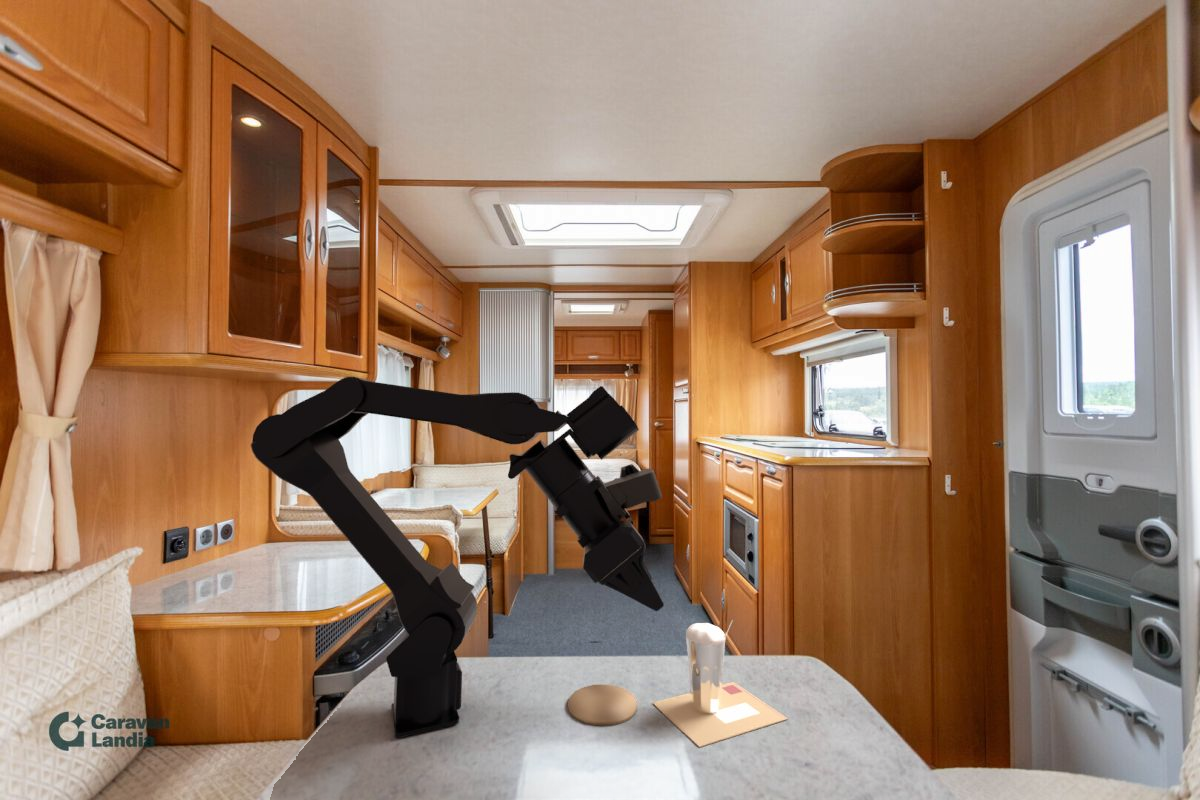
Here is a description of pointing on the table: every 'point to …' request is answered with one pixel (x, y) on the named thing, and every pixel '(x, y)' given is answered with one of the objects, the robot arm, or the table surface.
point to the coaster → (602, 705)
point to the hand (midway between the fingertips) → (654, 593)
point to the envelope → (720, 715)
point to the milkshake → (705, 665)
